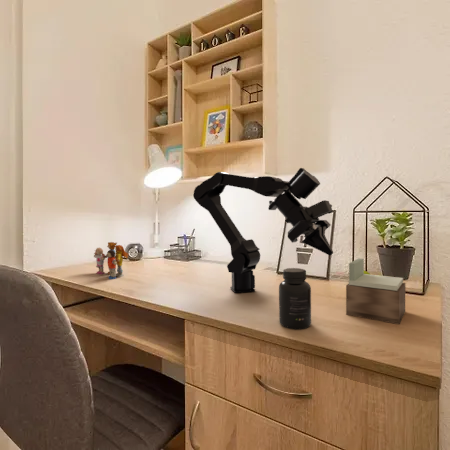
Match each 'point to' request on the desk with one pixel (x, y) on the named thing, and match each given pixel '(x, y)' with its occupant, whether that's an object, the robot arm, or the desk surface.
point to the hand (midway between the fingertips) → (331, 254)
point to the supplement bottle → (294, 299)
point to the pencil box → (376, 303)
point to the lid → (371, 278)
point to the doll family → (111, 259)
